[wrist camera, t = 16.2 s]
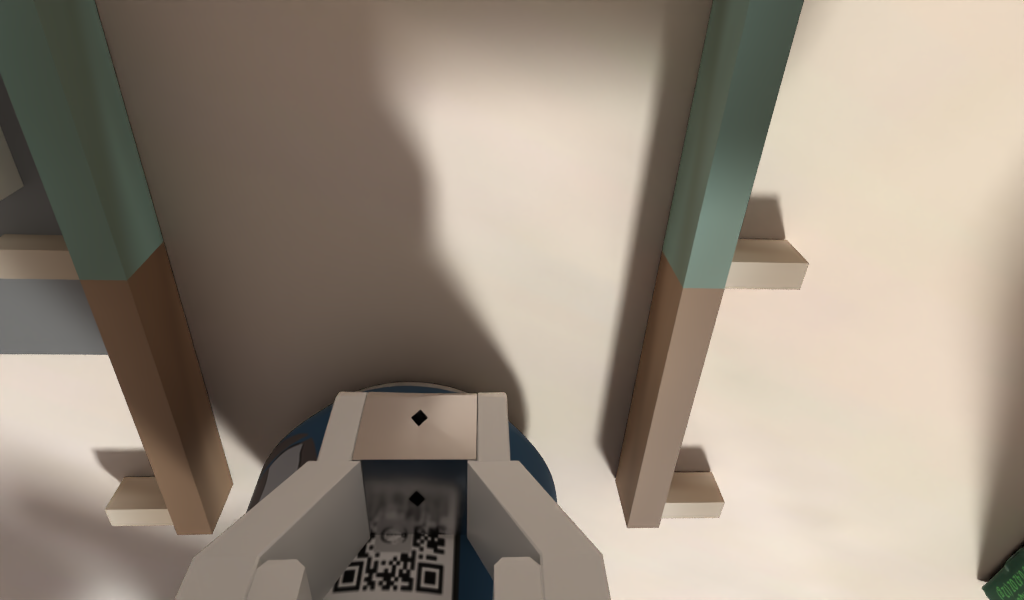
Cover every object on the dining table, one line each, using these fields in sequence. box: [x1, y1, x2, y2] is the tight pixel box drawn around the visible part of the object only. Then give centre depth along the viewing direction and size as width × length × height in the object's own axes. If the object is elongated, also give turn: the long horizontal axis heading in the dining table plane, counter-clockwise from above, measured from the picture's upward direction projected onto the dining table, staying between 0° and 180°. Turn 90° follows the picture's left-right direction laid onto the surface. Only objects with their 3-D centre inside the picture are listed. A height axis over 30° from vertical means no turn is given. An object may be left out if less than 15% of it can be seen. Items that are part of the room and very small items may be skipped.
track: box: [0, 0, 809, 535], centre depth 10 cm, size 15×22×2 cm
